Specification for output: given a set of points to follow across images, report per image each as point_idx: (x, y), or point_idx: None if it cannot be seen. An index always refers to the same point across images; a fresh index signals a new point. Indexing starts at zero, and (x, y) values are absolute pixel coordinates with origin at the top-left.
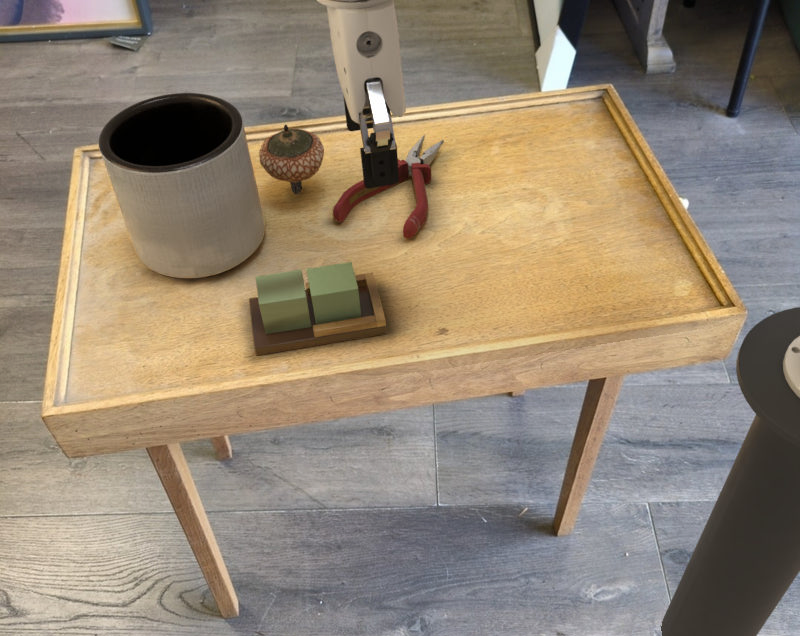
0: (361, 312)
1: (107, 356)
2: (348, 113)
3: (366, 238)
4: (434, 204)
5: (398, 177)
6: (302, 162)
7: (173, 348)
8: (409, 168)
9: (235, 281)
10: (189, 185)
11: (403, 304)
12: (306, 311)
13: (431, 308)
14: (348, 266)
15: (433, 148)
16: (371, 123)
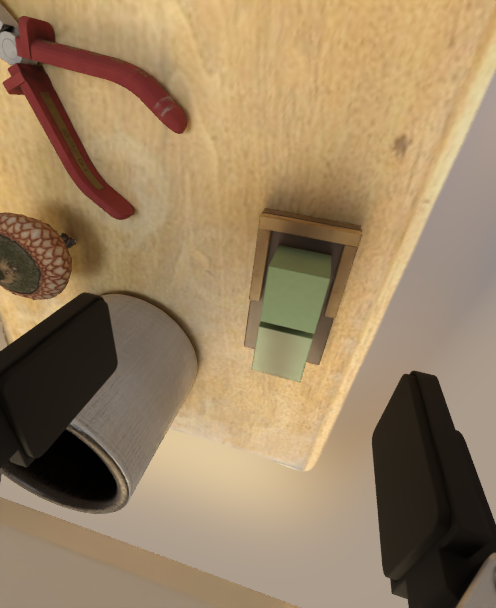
0: (319, 251)
1: (264, 439)
2: (81, 407)
3: (168, 184)
4: (107, 39)
5: (440, 388)
6: (48, 259)
7: (276, 405)
8: (25, 61)
9: (205, 339)
10: (140, 456)
11: (316, 182)
12: None
13: (344, 143)
14: (277, 273)
15: None
16: (99, 324)
